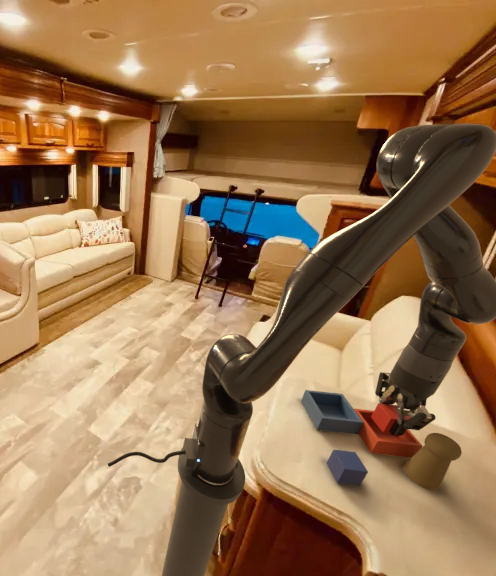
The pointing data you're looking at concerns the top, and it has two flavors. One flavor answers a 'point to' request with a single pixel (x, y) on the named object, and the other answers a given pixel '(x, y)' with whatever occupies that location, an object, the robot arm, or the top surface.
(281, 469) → the top surface
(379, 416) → the red block
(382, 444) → the red bin
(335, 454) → the blue block
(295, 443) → the top surface
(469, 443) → the top surface
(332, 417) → the blue bin
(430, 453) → the cork
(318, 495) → the top surface
